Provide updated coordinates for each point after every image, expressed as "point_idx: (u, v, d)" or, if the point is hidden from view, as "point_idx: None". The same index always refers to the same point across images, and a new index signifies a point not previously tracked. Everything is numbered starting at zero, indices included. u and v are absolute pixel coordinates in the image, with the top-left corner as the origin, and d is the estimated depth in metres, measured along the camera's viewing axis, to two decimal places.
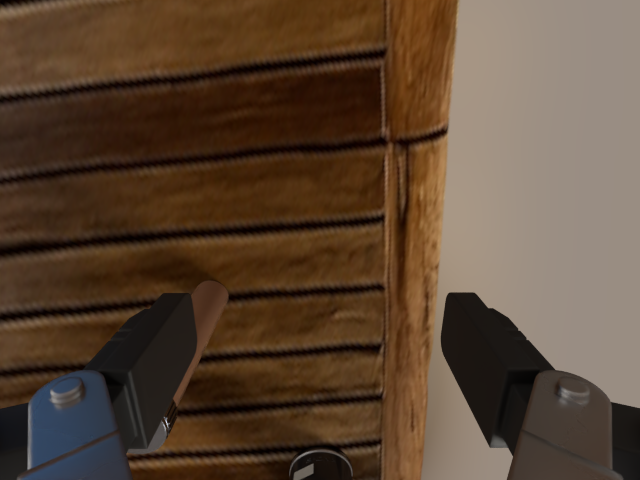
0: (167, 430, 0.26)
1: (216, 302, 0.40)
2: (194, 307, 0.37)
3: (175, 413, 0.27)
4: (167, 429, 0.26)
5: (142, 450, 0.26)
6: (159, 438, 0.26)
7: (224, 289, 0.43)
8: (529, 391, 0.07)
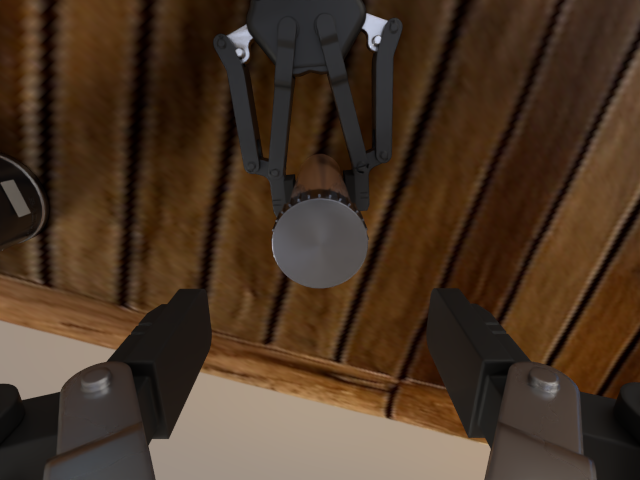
0: (299, 282, 0.18)
1: None
2: None
3: None
4: None
5: (279, 237, 0.17)
6: (292, 271, 0.18)
7: None
8: (504, 382, 0.08)
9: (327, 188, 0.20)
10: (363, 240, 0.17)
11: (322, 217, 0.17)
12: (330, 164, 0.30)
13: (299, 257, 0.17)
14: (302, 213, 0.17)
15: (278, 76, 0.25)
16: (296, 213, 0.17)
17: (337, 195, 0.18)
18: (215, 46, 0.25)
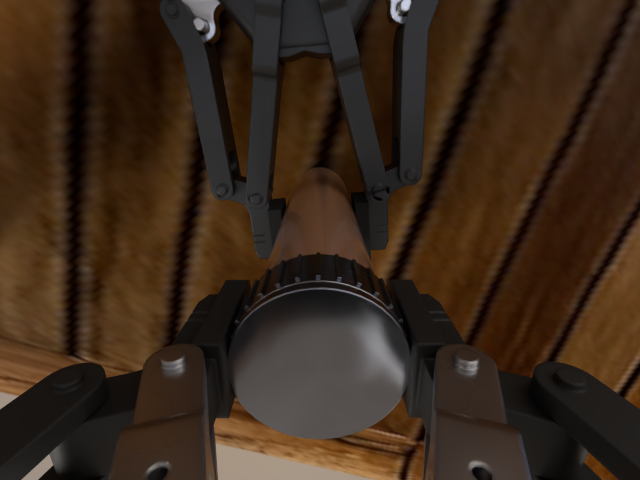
0: (282, 427, 0.10)
1: None
2: None
3: None
4: None
5: (240, 357, 0.09)
6: (268, 412, 0.09)
7: None
8: None
9: (332, 244, 0.12)
10: (403, 361, 0.09)
11: (324, 322, 0.09)
12: (334, 185, 0.21)
13: (281, 389, 0.09)
14: (284, 315, 0.08)
15: (257, 60, 0.17)
16: (272, 315, 0.08)
17: (352, 270, 0.09)
18: (163, 15, 0.17)
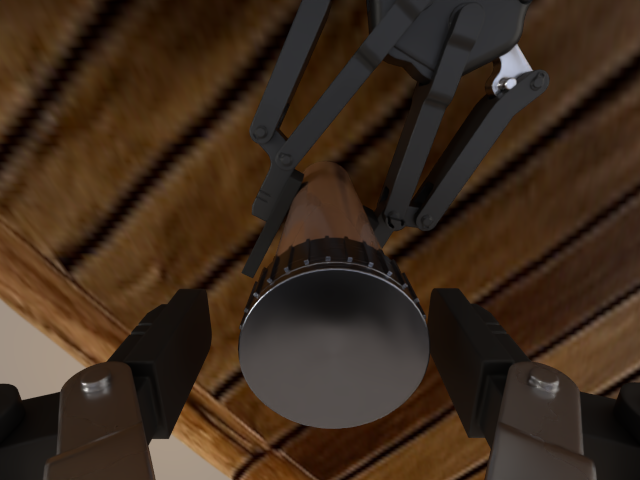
0: (335, 423, 0.10)
1: None
2: None
3: None
4: None
5: (256, 374, 0.09)
6: (312, 414, 0.09)
7: None
8: (504, 382, 0.08)
9: (374, 244, 0.12)
10: (409, 312, 0.08)
11: (310, 309, 0.08)
12: (355, 190, 0.21)
13: (310, 389, 0.09)
14: (271, 319, 0.08)
15: (370, 42, 0.17)
16: (261, 324, 0.08)
17: (323, 247, 0.09)
18: None
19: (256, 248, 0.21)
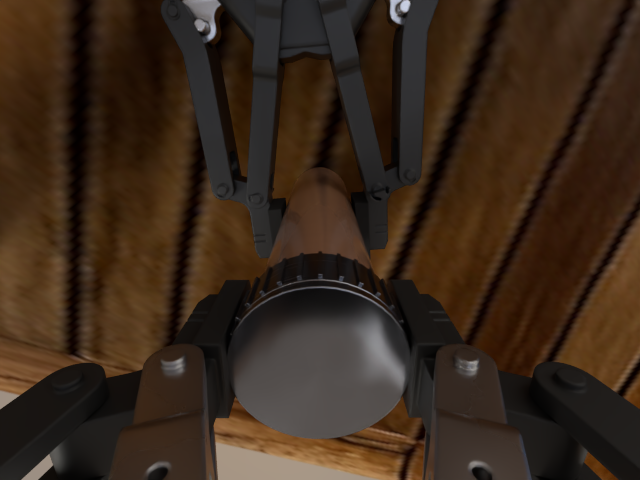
0: (367, 422, 0.10)
1: None
2: None
3: None
4: None
5: (269, 416, 0.09)
6: (338, 425, 0.10)
7: None
8: None
9: (331, 241, 0.12)
10: (353, 300, 0.08)
11: (270, 342, 0.09)
12: (333, 185, 0.21)
13: (320, 405, 0.09)
14: (246, 367, 0.09)
15: (258, 60, 0.17)
16: (241, 375, 0.09)
17: None
18: (164, 16, 0.17)
19: None
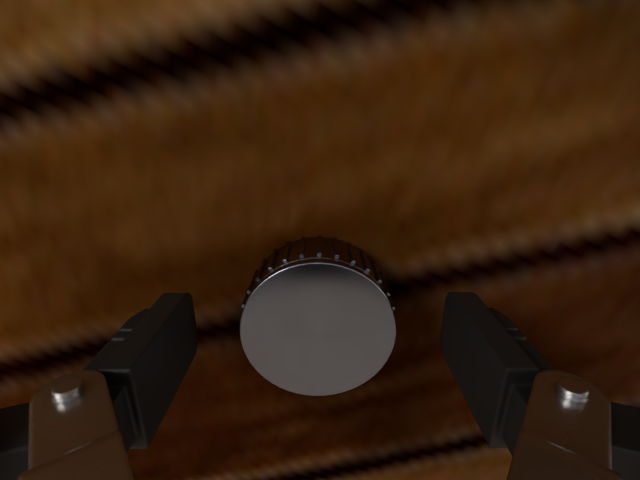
0: (359, 382, 0.11)
1: None
2: None
3: None
4: None
5: (275, 375, 0.11)
6: (334, 384, 0.11)
7: None
8: (528, 391, 0.07)
9: None
10: (347, 274, 0.10)
11: (277, 311, 0.10)
12: None
13: (319, 366, 0.11)
14: (257, 332, 0.11)
15: None
16: (253, 339, 0.11)
17: None
18: None
19: None
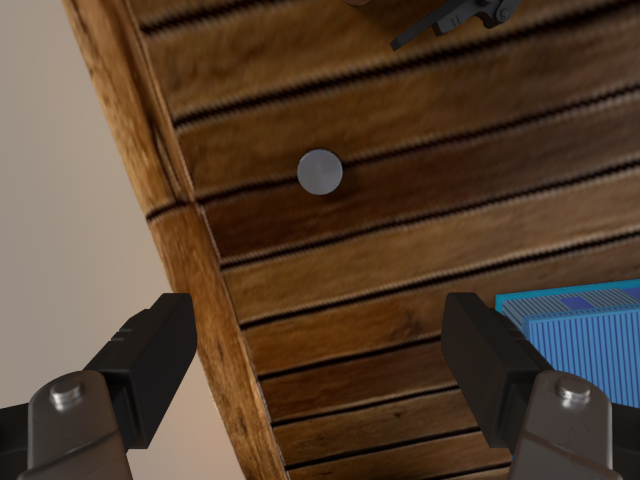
0: (332, 190, 0.38)
1: None
2: None
3: None
4: None
5: (307, 187, 0.38)
6: (324, 190, 0.38)
7: None
8: (529, 391, 0.07)
9: None
10: (327, 153, 0.36)
11: (308, 165, 0.37)
12: None
13: (320, 183, 0.38)
14: (302, 172, 0.37)
15: None
16: (301, 174, 0.37)
17: (305, 153, 0.38)
18: None
19: None
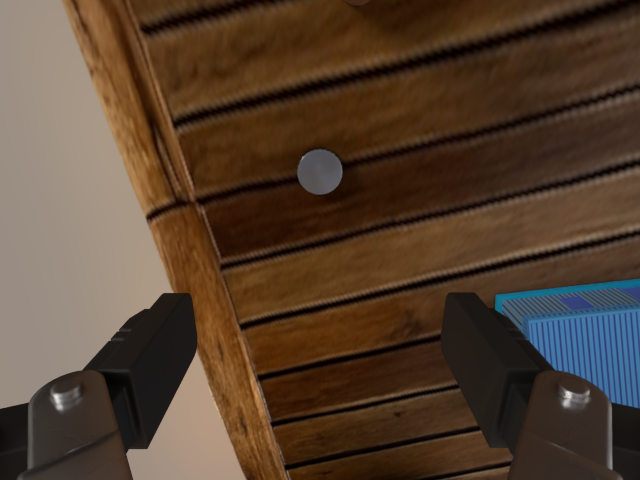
0: (332, 190, 0.38)
1: None
2: None
3: None
4: None
5: (307, 187, 0.38)
6: (324, 190, 0.38)
7: None
8: (529, 391, 0.07)
9: None
10: (327, 153, 0.37)
11: (308, 164, 0.37)
12: None
13: (320, 183, 0.38)
14: (302, 171, 0.37)
15: None
16: (301, 174, 0.37)
17: (306, 153, 0.38)
18: None
19: None
